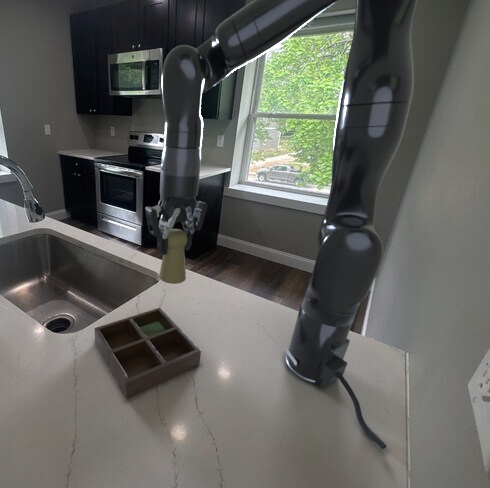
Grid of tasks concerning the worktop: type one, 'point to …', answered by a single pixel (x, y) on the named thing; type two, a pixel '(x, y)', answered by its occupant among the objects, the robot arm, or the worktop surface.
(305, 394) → the worktop surface
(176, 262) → the yellow peg doll
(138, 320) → the grid
